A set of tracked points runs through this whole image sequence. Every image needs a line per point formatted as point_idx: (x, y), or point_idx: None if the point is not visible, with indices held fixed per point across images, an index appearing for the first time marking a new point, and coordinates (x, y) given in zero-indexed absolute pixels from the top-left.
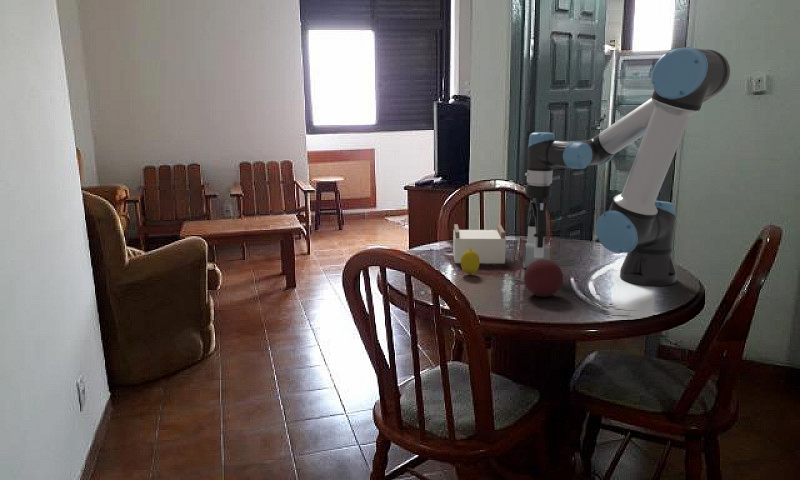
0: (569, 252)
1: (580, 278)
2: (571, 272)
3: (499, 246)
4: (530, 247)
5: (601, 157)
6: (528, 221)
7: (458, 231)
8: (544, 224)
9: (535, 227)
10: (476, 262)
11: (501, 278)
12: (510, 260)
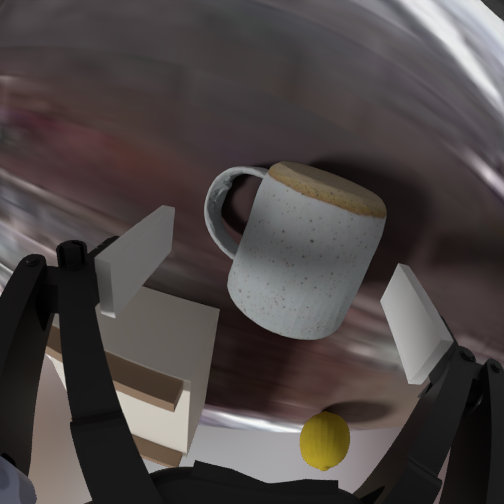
0: (90, 14)
1: (488, 137)
2: (416, 115)
3: (199, 371)
4: (330, 321)
5: None
6: (54, 312)
7: (166, 464)
8: (502, 424)
9: (112, 272)
10: (348, 438)
11: (387, 368)
12: (176, 274)
